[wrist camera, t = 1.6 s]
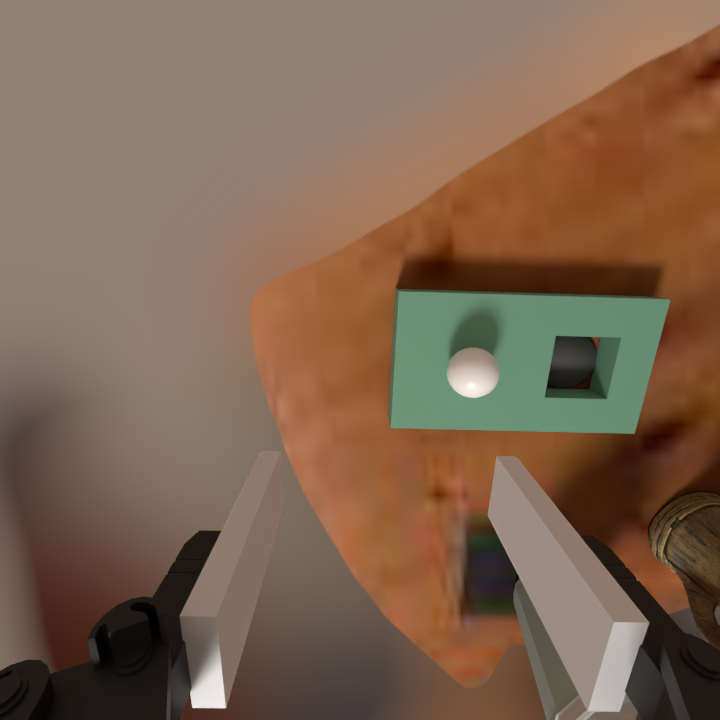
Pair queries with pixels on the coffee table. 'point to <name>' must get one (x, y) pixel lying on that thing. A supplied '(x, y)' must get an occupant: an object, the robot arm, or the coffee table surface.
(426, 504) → the coffee table surface
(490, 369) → the ball
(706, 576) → the wooden mug
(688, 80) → the coffee table surface
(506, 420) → the putting mat
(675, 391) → the coffee table surface
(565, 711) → the disposable coffee cup
